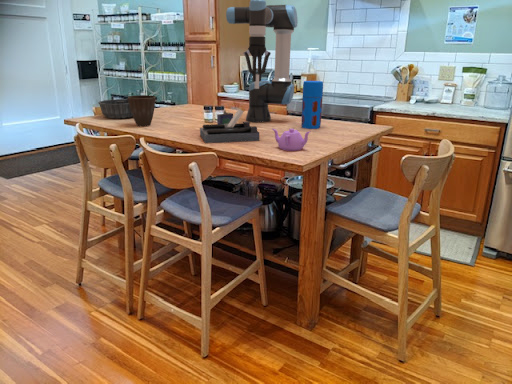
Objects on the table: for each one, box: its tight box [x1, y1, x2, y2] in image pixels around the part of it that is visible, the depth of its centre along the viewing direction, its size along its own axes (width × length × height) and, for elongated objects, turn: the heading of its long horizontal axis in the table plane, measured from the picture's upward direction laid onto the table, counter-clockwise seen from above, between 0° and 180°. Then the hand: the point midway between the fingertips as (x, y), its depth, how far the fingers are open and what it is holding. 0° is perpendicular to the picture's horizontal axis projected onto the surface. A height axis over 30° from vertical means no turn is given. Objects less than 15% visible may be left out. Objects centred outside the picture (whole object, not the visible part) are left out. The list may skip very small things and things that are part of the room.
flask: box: [216, 109, 234, 124], centre depth 220 cm, size 9×3×11 cm, turn 121°
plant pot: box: [127, 94, 157, 127], centre depth 231 cm, size 15×15×16 cm
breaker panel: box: [199, 121, 260, 144], centre depth 202 cm, size 26×18×6 cm
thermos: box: [301, 80, 324, 130], centre depth 229 cm, size 11×11×25 cm
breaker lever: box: [228, 106, 246, 126], centre depth 201 cm, size 2×5×13 cm
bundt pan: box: [97, 98, 133, 120], centre depth 259 cm, size 26×26×10 cm
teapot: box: [272, 128, 311, 152], centre depth 182 cm, size 12×14×9 cm
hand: (256, 88), depth 199 cm, fingers closed
